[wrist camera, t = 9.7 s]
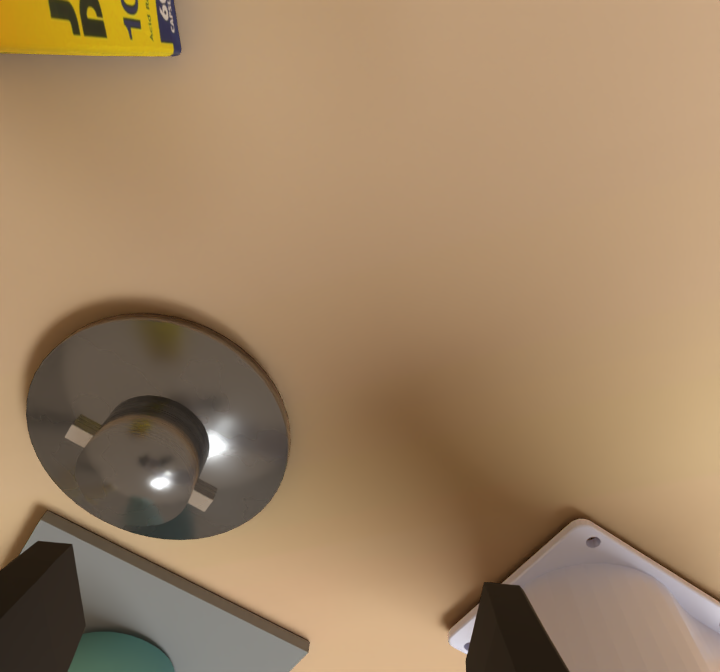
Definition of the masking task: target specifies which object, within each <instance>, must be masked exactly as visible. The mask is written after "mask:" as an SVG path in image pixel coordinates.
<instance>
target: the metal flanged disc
mask: <svg viewBox="0 0 720 672" xmlns="http://www.w3.org/2000/svg"><path fill="white" fill-rule="evenodd" d="M26 416H27V426H28V431H29V435H30V439H31V443H32V445H33V447H34V450H35V452H36V455H37V457H38V459H39V460H40V462H41V464H42V466H43V467H44V469H45V470H46V472H47V473H48V475H49V476H50V477H51V479H52V480H53V481H54V482H55V484H56V485H57V486H58V487H59V488H60V489H61V490H62V491H63V492H64V493H65V494H66V495H67V496H68V497H69V498H71V499H72V500H73V501H74V502H75V503H76V504H78V505H79V506H80V507H82V508H83V509H85V510H86V511H87V512H89V513H90V514H92V515H94V516H96V517H97V518H99V519H101V520H103V521H104V522H107V523H109V524H111V525H113V526H116V527H118V528H120V529H123V530H126V531H129V532H132V533H135V534H139V535H144V536H148V537H153V538H160V539H173V540H187V539H199V538H205V537H211V536H214V535H218V534H221V533H225V532H227V531H229V530H232V529H234V528H236V527H238V526H240V525H242V524H244V523H245V522H247V521H249V520H250V519H251V518H253V517H254V516H255V515H257V514H258V513H259V512H260V511H261V510H262V509H263V508H264V507H265V506H266V505H267V504H268V503H269V502H270V500H271V499H272V497H273V496H274V494H275V493H276V492H277V490H278V488H279V485H280V483H281V481H282V479H283V476H284V472H285V469H286V465H287V461H288V457H289V450H290V426H289V421H288V416H287V412H286V410H285V407H284V404H283V401H282V399H281V397H280V395H279V393H278V391H277V389H276V387H275V385H274V384H273V382H272V381H271V379H270V378H269V377H268V375H267V374H266V372H265V371H264V370H263V369H262V368H261V367H260V366H259V364H258V363H257V362H256V361H255V360H254V359H253V358H252V357H251V356H250V355H248V354H247V353H246V352H245V351H244V350H243V349H242V348H240V347H239V346H237V345H236V344H235V343H233V342H232V341H230V340H229V339H227V338H226V337H224V336H222V335H220V334H218V333H217V332H215V331H213V330H211V329H209V328H207V327H204V326H202V325H199V324H197V323H194V322H191V321H188V320H184V319H180V318H177V317H172V316H166V315H159V314H141V313H136V314H125V315H118V316H113V317H109V318H105V319H101V320H99V321H96V322H93V323H91V324H88V325H86V326H85V327H83V328H81V329H79V330H77V331H76V332H74V333H73V334H71V335H70V336H69V337H68V338H66V339H65V340H64V341H63V342H61V343H60V344H59V345H58V346H57V347H56V348H55V349H53V351H52V352H51V353H50V354H49V355H48V356H47V357H46V358H45V359H44V360H43V362H42V363H41V365H40V367H39V368H38V370H37V371H36V373H35V375H34V378H33V380H32V383H31V385H30V389H29V393H28V398H27V409H26Z"/></svg>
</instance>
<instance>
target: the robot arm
mask: <svg viewBox="0 0 720 672" xmlns="http://www.w3.org/2000/svg"><path fill="white" fill-rule="evenodd" d="M591 537H595V538H594V539H592V540H587V539H589V538H591ZM85 627H86V624H85V618H84V611H83V605H82V599H81V593H80V587H79V581H78V575H77V569H76V563H75V557H74V551H73V545H72V544H68V543H57V542H46V541H37V542H36V543H34V544H33V545H32V546H31V547H29V548H28V549H27V550H25V551H24V552H23V553H22V554H20V555H19V556H18V557H17V558H15V559H14V560H13V561H12V562H10V563H9V564H8V565H7V566H5V567H4V568H3V569H2V570H1V571H0V672H68V669H69V667H70V665H71V662H72V660H73V657H74V655H75V652H76V650H77V647H78V645H79V642H80V640H81V637H82V634H83V632H84V629H85ZM448 642H449V644H450V645H451V646H452V647H454V648H456V649H458V650H460V651H461V652H463V653H465V654H467V657H466V672H720V602H719V601H717V600H715V599H714V598H712V597H711V596H709V595H707V594H706V593H704V592H703V591H701V590H699V589H698V588H696V587H695V586H693V585H692V584H690V583H688V582H687V581H685V580H684V579H682V578H680V577H679V576H677V575H676V574H674V573H672V572H671V571H669V570H668V569H666V568H664V567H663V566H661V565H660V564H658V563H656V562H655V561H653V560H652V559H650V558H648V557H647V556H645V555H644V554H642V553H641V552H639V551H637V550H636V549H634V548H633V547H631V546H629V545H628V544H626V543H625V542H623V541H621V540H620V539H618V538H617V537H615V536H613V535H612V534H610V533H609V532H607V531H605V530H604V529H602V528H601V527H599V526H598V525H596V524H594V523H593V522H591V521H589V520H587V519H577V520H574V521H572V522H571V523H569V524H568V525H567V526H566V527H565V528H564V529H563V530H561V531H560V532H559V533H558V534H557V535H556V536H555V537H554V538H552V539H551V540H550V541H549V542H548V543H547V544H546V545H544V546H543V547H542V548H541V549H540V550H539V551H538V552H537V553H535V554H534V555H533V556H532V557H531V558H530V559H529V560H527V561H526V562H525V563H524V564H523V565H522V566H521V567H520V568H518V569H517V570H516V571H515V572H514V573H513V574H512V575H511V576H509V577H508V578H507V579H506V580H505V581H504V582H503V583H501V584H500V583H489V582H484V585H483V590H482V594H481V598H480V602H479V604H478V605H477V606H475V607H474V608H473V609H472V610H471V611H470V612H469V613H468V614H466V615H465V616H464V617H463V618H462V619H461V620H460V621H458V622H457V623H456V624H455V625H454V626H453V627H452V628H451V629H450V630H449V631H448Z"/></svg>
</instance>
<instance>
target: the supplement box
mask: <svg viewBox="0 0 720 672" xmlns="http://www.w3.org/2000/svg"><path fill="white" fill-rule="evenodd" d="M0 53H15V54H53V55H88V56H177V55H179V54H180V53H181V43H180V38H179V32H178V26H177V19H176V12H175V6H174V0H0Z"/></svg>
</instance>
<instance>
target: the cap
mask: <svg viewBox="0 0 720 672" xmlns="http://www.w3.org/2000/svg"><path fill="white" fill-rule="evenodd" d="M68 672H175V670H174V667H173V665H172V663H171V661H170V660H169V658H168V657H167V656H166V655H165V654H164V653H163V652H162V651H161V650H160V649H158V648H157V647H155V646H154V645H152V644H150V643H148V642H147V641H144V640H142V639H140V638H137V637H134V636H131V635H127V634H122V633H117V632H91V633H85V634H82V637H81V640H80V642H79V645H78V647H77V650H76V652H75V655H74V657H73V660H72V662H71V665H70V667H69V669H68Z"/></svg>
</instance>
